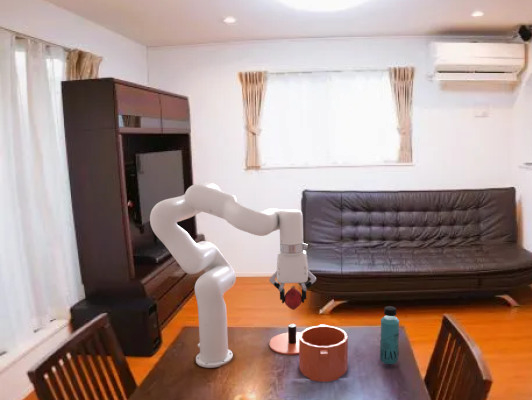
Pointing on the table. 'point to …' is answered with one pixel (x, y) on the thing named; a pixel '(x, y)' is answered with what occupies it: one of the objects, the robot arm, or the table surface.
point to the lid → (286, 342)
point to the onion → (293, 298)
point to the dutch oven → (323, 353)
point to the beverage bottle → (389, 336)
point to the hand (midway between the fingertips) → (293, 301)
